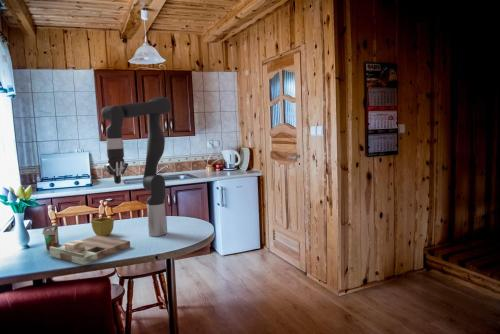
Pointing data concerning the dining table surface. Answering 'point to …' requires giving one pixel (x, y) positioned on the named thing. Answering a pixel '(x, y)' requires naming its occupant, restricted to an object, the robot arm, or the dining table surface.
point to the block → (75, 246)
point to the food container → (51, 236)
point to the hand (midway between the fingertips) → (117, 183)
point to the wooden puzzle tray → (91, 249)
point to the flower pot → (102, 226)
